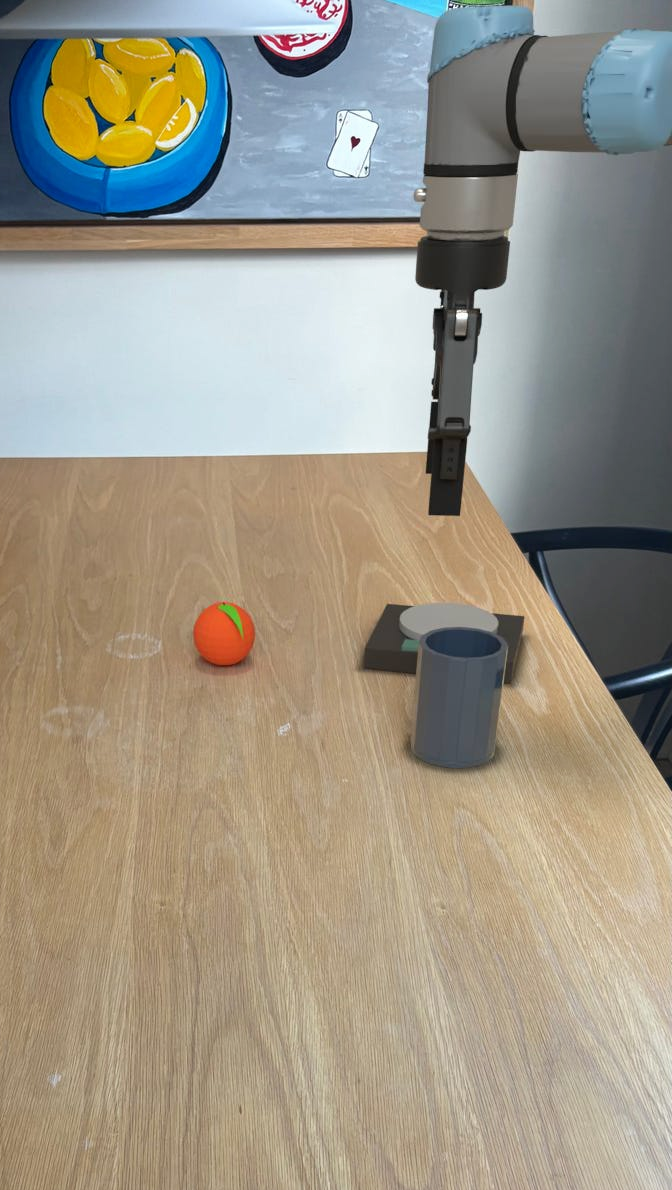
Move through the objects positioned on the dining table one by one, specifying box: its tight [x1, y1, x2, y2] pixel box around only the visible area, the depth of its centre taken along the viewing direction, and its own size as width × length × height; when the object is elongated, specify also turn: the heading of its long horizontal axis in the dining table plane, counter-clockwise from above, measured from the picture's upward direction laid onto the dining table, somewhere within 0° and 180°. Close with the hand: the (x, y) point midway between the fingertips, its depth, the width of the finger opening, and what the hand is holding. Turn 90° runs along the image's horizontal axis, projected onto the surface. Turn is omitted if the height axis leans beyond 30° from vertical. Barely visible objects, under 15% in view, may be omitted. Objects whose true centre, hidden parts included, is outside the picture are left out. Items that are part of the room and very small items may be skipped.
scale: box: [363, 602, 525, 684], centre depth 139 cm, size 16×14×4 cm
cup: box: [410, 627, 508, 769], centre depth 116 cm, size 8×8×11 cm
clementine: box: [192, 601, 256, 666], centre depth 136 cm, size 8×7×7 cm
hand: (441, 493), depth 112 cm, fingers open, 13 cm apart
